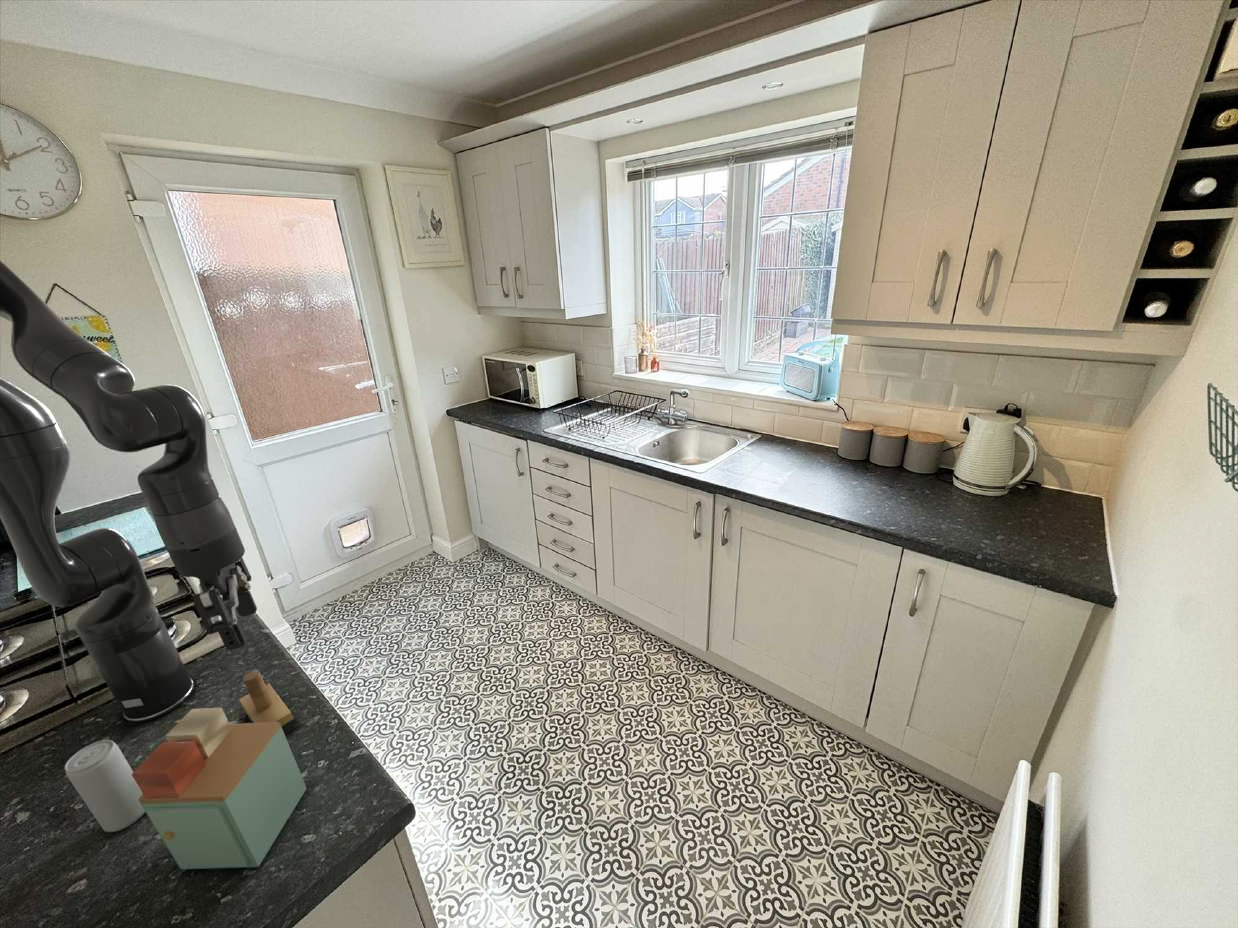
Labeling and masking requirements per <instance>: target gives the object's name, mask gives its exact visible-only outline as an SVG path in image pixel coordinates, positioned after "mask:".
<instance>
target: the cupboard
mask: <svg viewBox="0 0 1238 928" xmlns="http://www.w3.org/2000/svg"><path fill="white" fill-rule="evenodd" d="M229 724H230V727H231V729H232V731H231V732H230V733H229V734H228V735H227V737H226V738H225V739H224V740H223V741H222V742H221V744H220V745H219V746H218V747H217V748H216V749H215V751H214V752H213V753H212V754H211V755H210V756H209V758H203V759H204V761H205V763H206V765H205V767H204V768H203V769H202V770H201V771H200V773H199V774H198V775H197V776H196V777H195V778H194V780H193V781H192V782H191V783H190V784H189V785H188V787H187V788H186V789H185V790H184V791H183V793H182V794H181V795H180V796H179V797H160V798H145V796H144V795H142V796H141V797H140V798H139V799H138V800H139V802H140V804H141V805H142V807H143V809H144V810H145V814H146V815H147V817H148V819H149V820H150V822H151V823H152V825H153V827H154V829H155V830H156V832H157V833H158V836H159V837H160V838H161V840H162V841H163V843H164V845H165V847H166V848H167V850H168V851H169V853H170V854H171V856H172V858H173V859H174V861H175V863H176V864H177V866H178V867H179V869H180V870H203V869H205V870H206V869H207V870H208V869H238V868H259V867H260V866H261V863H262V862H263V860H264V859H265V858H266V855H267V854H268V853H269V851H270V849H271V847H272V846H273V844H274V842H275V841H276V839H277V838H278V836H279V835H280V833H281V831H282V830H283V828H284V826H285V825H286V823H287V821H288V820H289V818H290V817H291V815H292V813H293V811H294V810H295V808H296V807H297V805H298V804H299V802H300V801H301V799H302V797H303V796H304V793H305V792H306V790H307V788H308V787H307V785H306V783H305V781H304V780H305V779H304V778H303V775H302V773H301V771H300V769H299V766H298V764H297V762H296V758H295V756H294V753H293V751H292V749H291V747H290V745H289V742H288V739H287V737H286V735H284V732H283V730H282V727H281V725H280V723H279V722H271V723H252V722H248V723H229Z"/></svg>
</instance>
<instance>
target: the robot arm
mask: <svg viewBox="0 0 1238 928" xmlns="http://www.w3.org/2000/svg"><path fill="white" fill-rule="evenodd" d="M0 318H3V319H5V320H7V321H8V322H10V323H11V333H10V347H11V352H12V355H13V357H14V359H15V361H16V362H17V364H18V365H19V366H20V367H21V368H22V369H23V370H24V371H25V373H26V374H28V375H29V376H30V377H31V378H33V379H34V380H35V381H37V382H39V383H40V384H41V385H43V386H45V388H48V389H49V390H50V391H52V392H53V393H55V394H56V395H57V396H59V397H61V398H62V399H64V400H65V402H66V403H67V404H68V405H69V406H70V407H71V409H72V410H73V411H74V412H75V413H76V414H77V416H78V417H79V418H80V419H81V421H82V422H83V424H84V425H85V427H86V428H87V430H88V431H89V433H90V435H91V436H92V437H93V439H94V440H95V441H96V442H97V443H98V444H99V445H101V446H103V447H105V448H107V449H109V450H112V451H115V452H120V453H129V454H130V453H139V452H141V451H145V450H148V449H152V448H155V447H158V446H162V445H164V451H163V455H162V457H160V458H159V459H158V460H157V461H155V462H154V463H152V464H150V465H149V466H147V467H146V468H143V469H142V470H141V471H140V472H139V473H138V475H137V482H138V483H137V484H138V486H139V488H140V490H141V493H142V495H143V497H144V499H145V501H146V504H147V505H148V507H149V510H150V512H151V514H152V517H153V518H154V522H155V527H156V529H157V532H158V534H159V536H160V538H161V540H162V542H163V545H164V547H165V549H166V551H167V553H168V556H169V557H170V560H171V562H172V563H173V565H174V568H175V570H176V571H177V573H178V574H179V575H180V576H182V577H186V578H196V579H198V580H199V583H198V589H199V593H195V594H193V595H192V601H193V603H194V606H195V608H196V611H197V613H198V615H199V617H200V619H201V622H202V624H203V626H204V629H205V631H206V633H207V634H208V635H213V634H216V633H218V634H219V636H220V639H221V642H222V643H223V645H224V647H225V649H226V650H227V651H232V650H235V649H239V648H242V647H244V646H245V645H246V641H247V638H246V636H245V635H244V632H243V630H242V628H241V626H240V623H239V621H238V618H237V613H238V615H239V617H242V618H244V617H247V616H250V615H254V614H256V612H257V610H258V607H257V605H256V602H255V600H254V597H253V595H252V592H251V586H252V585H251V584H250V583H249V582H251V581H252V575H251V573H250V571H249V568H248V567H247V565H246V563H245V560H244V558H243V556H244V555H245V553H246V549H245V547H244V544H243V542H242V539H241V536H240V534H239V532H238V529H237V527H236V524H235V523H234V519H233V517H232V515H231V512H230V510H229V509H228V507H227V505H226V503H225V502H224V500H223V499H222V497H221V495H220V493H219V491H218V488H217V486H216V483H215V481H214V479H213V476H212V474H211V471H210V468H209V459H208V458H209V457H208V456H209V455H208V445H207V425H206V424H207V423H206V417H205V413H204V410H203V408H202V406H201V404H200V402H199V401H198V400H197V399H196V397H195V396H194V395H192V394H191V392H189V391H187V390H186V389H185V388H184V387H181V386H178V385H175V384H162V385H156V386H150V387H145V388H141V389H136V390H134V388H135V384H136V383H135V382H136V381H135V376H134V375H133V373H132V372H131V370H130V369H129V368H128V367H127V366H126V365H125V364H123V363H122V362H121V361H119V360H118V359H117V358H115V357H113V356H112V355H111V354H109V353H107V352H106V351H105V350H103V349H102V348H100V347H99V346H97V345H96V344H94V343H93V342H91V341H90V340H88V339H87V338H85V337H84V336H82V335H81V334H80V333H78V332H77V331H76V330H74V328H72V327H71V326H69V325H68V324H67V323H66V322H65V321H64V320H63V319H62V318H61V317H60V316H59V315H58V314H57V313H56V312H55V311H54V310H53V308H51V307H50V306H49V305H48V304H47V303H46V302H45V301H44V300H43V299H42V298H41V297H40V296H39V295H38V294H37V293H36V292H35V291H34V290H33V289H32V288H31V287H30V286H28V285H27V284H26V283H25V281H23V280H22V279H21V278H20V276H18V275H17V274H16V273H15V272H14V271H13V270H12V269H11V268H10V267H8V266H7V264H6V263H4V262H3V261H2V260H0ZM67 443H68V442H67V441H66V439H65V437H64V435H63V433H62V430H61V429H60V426H59V424H58V423H57V421H56V418H55V416H54V415H53V413H52V412H51V410H50V409H49V408H48V407H47V406H46V405H45V404H44V403H42V402H41V401H39V400H38V399H37V398H35V397H34V396H32V395H31V394H29V393H28V392H26V391H25V390H23V389H21V388H20V387H18V386H16V385H14V384H13V383H12V382H9V381H8V380H6V379H4V378H3V377H1V376H0V520H1V522H2V524H3V527H4V529H5V531H6V533H7V536H8V538H9V540H10V541H9V542H10V543H11V546H12V547H13V551H14V552H15V555H16V558H17V559H18V562H19V564H20V566H21V568H22V571H23V573H24V575H25V577H26V579H27V581H28V583H29V584H30V586H31V587H32V589H33V591H34V592H35V593H36V594H37V596H38V597H40V599H42V601H44V602H45V603H47V604H49V605H50V606H53V607H56V608H68V607H72V606H74V605H76V604H79V603H81V602H83V601H85V600H88V599H89V598H92V597H93V596H96V595H97V594H99V596H98V597H97V599H96V600H95V601H94V602H93V603H92V604H91V605H90V606H88V608H87V609H86V610H85V611H83V612H82V613H81V614H80V616H79V617H78V618H77V619H76V621H75V624H74V629H75V631H76V633H77V635H78V637H79V639H80V640H81V642H82V644H83V645H84V647H85V649H86V651H87V652H88V654H89V656H90V658H91V659H92V661H93V663H94V665H95V666H96V668H97V670H98V671H99V674H100V675H101V677H102V678H103V680H104V682H105V684H106V686H107V687H108V689H109V691H110V692H111V694H112V696H113V698H114V700H115V702H116V703H117V706H118V707H119V708H120V710H121V712H122V715H123V717H124V719H125V721H127V722H129V723H134V724H136V723H137V724H138V723H144V722H149V721H152V720H154V719H157V718H159V717H162V716H164V715H165V714H168V713H170V712H171V711H174V709H176V708H178V707H179V706H180V705H181V704H183V703H184V702H185V701H186V700H187V699H188V698H189V697H191V695H192V693H193V691H194V690H195V683H194V681H193V679H192V678H191V676H190V675H189V671H188V670H187V667H186V665H185V664H184V662H183V660H182V657H181V655H180V654H179V651H178V649H177V647H176V645H175V643H174V641H173V639H172V637H171V635H170V633H169V631H168V629H167V626H166V625H165V622H164V621H163V619H162V617H161V615H160V612H159V611H158V608H157V606H156V604H155V600H154V599H155V598H154V595H153V594H154V593H153V590H152V589H151V586H150V584H149V582H148V580H147V577H146V574H145V572H144V569H143V566H142V564H141V563H142V562H141V561H140V559H139V556H138V553H137V552H136V550H135V548H134V546H133V545H132V543H131V542H130V541H129V539H127V537H126V536H125V535H123V534H122V533H121V532H119V531H117V530H115V529H113V528H108V527H100V528H98V529H97V528H96V529H94V530H91V531H88V532H86V533H83V534H81V535H79V536H75V537H73V538H69V539H68V540H65V541H62V542H59V538H58V535H57V531H56V525H55V518H56V517H55V514H56V509H57V504H58V501H59V498H60V495H61V492H62V490H63V487H64V485H65V482H66V480H67V476H68V472H69V469H70V465H71V464H70V463H71V450H70V447H69V446H68V444H67ZM236 612H237V613H236ZM220 617H221V618H220Z"/></svg>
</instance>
